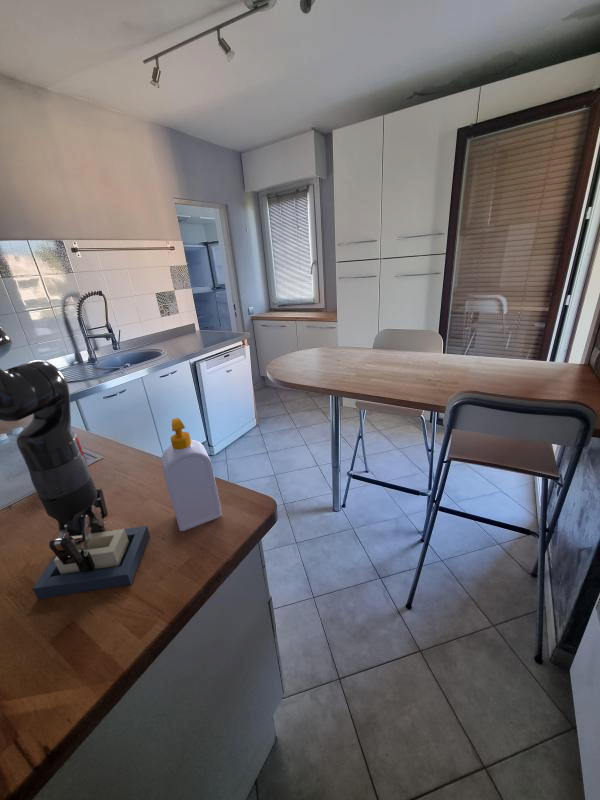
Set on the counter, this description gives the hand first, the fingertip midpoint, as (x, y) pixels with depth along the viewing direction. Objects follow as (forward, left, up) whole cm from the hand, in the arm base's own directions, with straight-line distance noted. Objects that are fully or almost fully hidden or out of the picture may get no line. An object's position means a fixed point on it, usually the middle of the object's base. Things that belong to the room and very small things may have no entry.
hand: (95, 555), depth 62 cm
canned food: (-21, +34, -2) cm, 40 cm away
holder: (0, 0, -2) cm, 2 cm away
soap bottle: (+17, +10, -2) cm, 20 cm away
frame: (0, 0, -1) cm, 1 cm away
